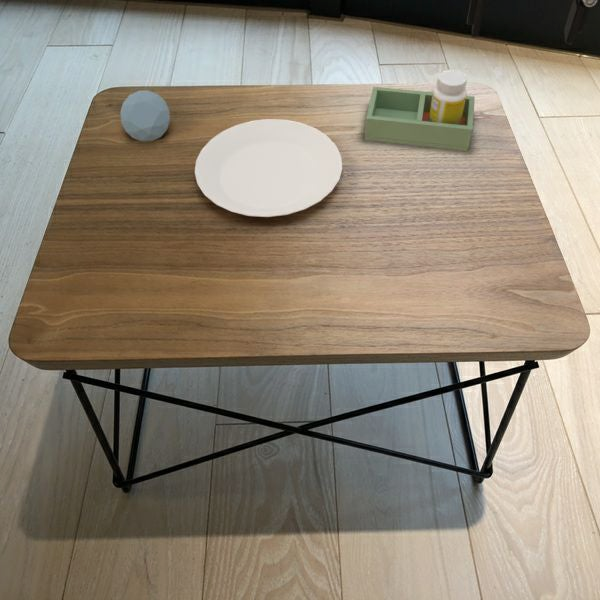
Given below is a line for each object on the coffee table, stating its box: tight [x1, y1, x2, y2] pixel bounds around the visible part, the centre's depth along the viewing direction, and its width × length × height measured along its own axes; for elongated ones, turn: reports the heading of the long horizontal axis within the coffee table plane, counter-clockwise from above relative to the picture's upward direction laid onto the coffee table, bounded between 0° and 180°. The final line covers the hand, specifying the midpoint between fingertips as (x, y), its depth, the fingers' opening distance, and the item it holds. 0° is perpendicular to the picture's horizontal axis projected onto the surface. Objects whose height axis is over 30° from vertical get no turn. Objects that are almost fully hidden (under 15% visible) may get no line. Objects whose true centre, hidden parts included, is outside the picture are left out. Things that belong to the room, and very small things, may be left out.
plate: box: [194, 118, 344, 218], centre depth 88 cm, size 21×21×2 cm
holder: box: [363, 86, 476, 152], centre depth 93 cm, size 8×15×4 cm, turn 78°
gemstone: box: [119, 90, 171, 142], centre depth 95 cm, size 8×8×5 cm
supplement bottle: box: [428, 69, 468, 125], centre depth 90 cm, size 5×5×8 cm
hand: (521, 34), depth 66 cm, fingers open, 9 cm apart
